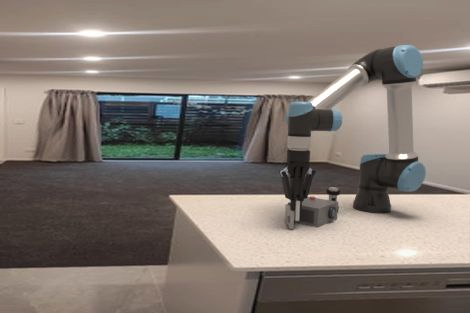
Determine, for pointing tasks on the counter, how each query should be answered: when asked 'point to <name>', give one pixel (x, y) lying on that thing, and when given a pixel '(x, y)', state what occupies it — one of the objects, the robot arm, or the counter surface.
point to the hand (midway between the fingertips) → (295, 219)
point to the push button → (333, 194)
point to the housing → (317, 211)
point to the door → (289, 216)
